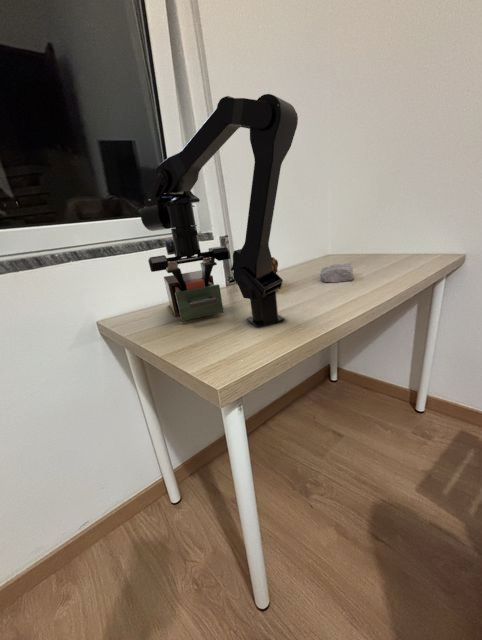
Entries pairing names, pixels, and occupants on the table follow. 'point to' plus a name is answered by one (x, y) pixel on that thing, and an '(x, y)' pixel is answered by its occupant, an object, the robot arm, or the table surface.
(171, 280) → the cabinet
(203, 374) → the table surface
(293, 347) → the table surface
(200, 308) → the drawer
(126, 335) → the table surface
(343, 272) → the stone block
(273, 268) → the wooden carving
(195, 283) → the block
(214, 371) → the table surface
